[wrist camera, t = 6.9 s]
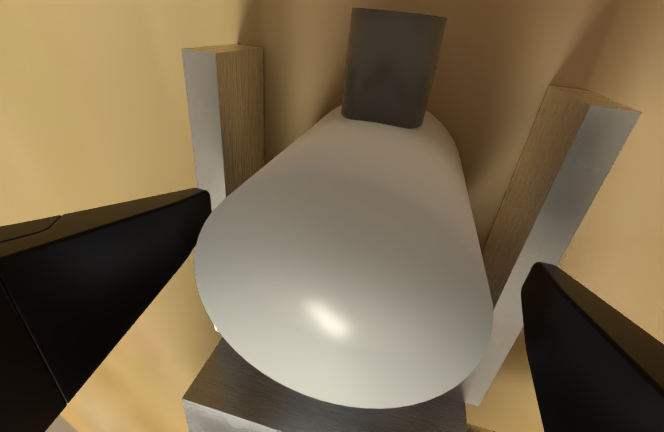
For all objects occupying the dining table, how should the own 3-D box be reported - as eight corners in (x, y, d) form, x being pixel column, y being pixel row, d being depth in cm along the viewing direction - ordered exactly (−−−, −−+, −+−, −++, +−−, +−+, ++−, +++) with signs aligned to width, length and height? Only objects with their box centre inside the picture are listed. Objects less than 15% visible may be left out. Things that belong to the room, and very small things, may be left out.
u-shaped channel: (685, 103, 9) (1373, 307, 3) (484, 431, 18) (517, 677, 11) (236, 44, 12) (-40, 66, 5) (250, 360, 20) (158, 529, 13)
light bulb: (512, 27, 9) (648, 26, 4) (437, 260, 14) (442, 438, 8) (309, 5, 10) (151, -23, 5) (297, 229, 15) (207, 365, 9)
